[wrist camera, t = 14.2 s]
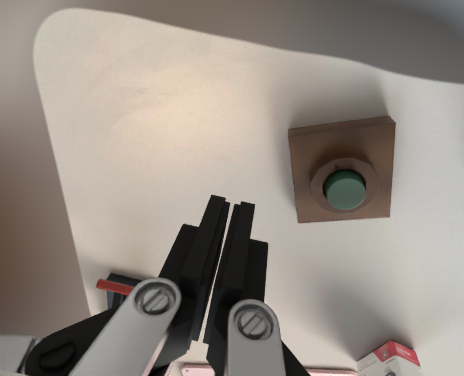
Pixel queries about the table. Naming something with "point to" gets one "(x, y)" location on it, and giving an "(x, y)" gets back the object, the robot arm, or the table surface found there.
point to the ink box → (390, 362)
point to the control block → (342, 166)
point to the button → (345, 189)
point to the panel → (205, 373)
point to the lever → (115, 290)
